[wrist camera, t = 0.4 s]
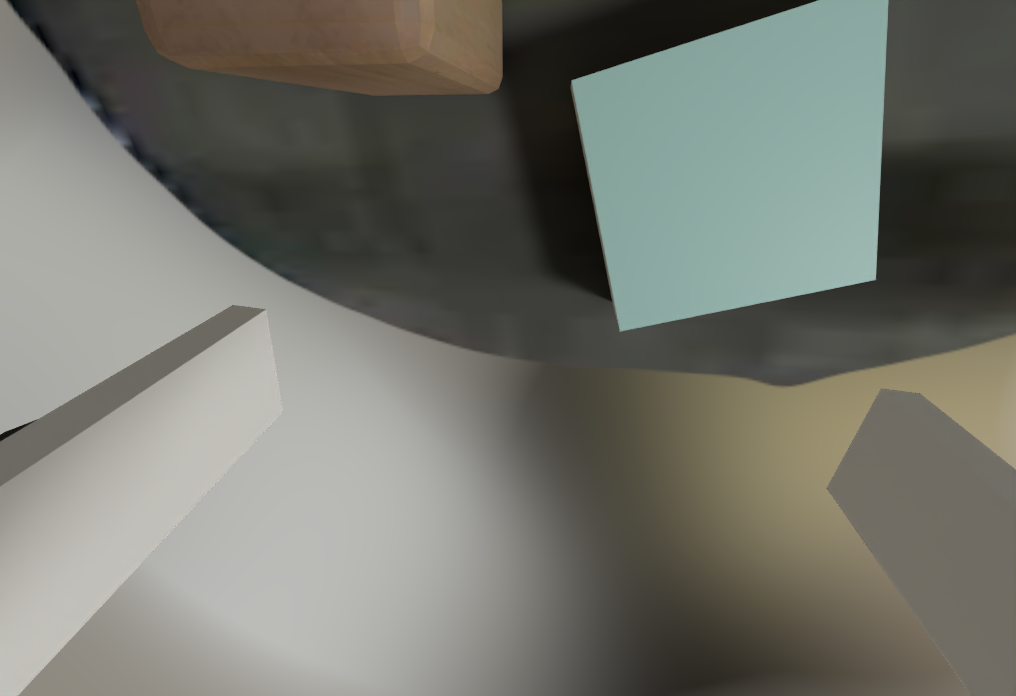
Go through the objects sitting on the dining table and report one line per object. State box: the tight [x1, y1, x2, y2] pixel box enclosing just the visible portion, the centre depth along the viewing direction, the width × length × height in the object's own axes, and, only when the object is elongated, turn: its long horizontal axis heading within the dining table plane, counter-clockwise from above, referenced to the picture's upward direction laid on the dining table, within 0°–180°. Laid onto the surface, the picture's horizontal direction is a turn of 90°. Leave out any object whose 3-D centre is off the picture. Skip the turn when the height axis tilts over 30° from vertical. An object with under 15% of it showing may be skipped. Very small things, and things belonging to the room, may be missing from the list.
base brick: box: [571, 0, 888, 331], centre depth 31 cm, size 16×16×6 cm
